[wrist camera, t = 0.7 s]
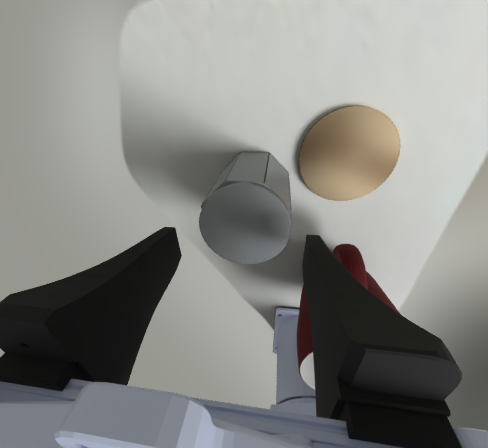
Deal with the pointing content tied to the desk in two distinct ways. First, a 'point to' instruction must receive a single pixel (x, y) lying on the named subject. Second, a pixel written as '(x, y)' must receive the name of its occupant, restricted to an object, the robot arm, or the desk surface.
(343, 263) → the mug
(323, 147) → the tan round coaster
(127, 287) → the robot arm
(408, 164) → the desk surface
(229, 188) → the faceted grey cylinder
